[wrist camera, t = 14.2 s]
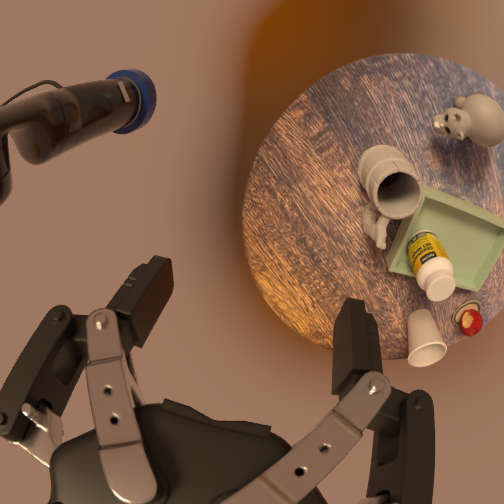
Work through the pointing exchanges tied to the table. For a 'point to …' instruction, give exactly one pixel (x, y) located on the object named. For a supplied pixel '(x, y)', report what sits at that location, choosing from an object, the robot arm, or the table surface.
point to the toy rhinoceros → (472, 120)
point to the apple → (468, 318)
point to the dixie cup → (424, 339)
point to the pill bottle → (431, 265)
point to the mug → (387, 189)
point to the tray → (452, 237)
